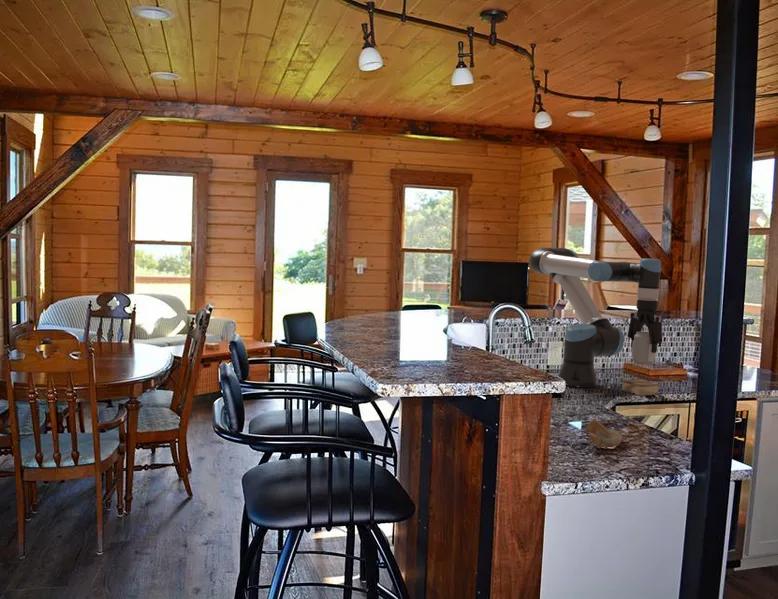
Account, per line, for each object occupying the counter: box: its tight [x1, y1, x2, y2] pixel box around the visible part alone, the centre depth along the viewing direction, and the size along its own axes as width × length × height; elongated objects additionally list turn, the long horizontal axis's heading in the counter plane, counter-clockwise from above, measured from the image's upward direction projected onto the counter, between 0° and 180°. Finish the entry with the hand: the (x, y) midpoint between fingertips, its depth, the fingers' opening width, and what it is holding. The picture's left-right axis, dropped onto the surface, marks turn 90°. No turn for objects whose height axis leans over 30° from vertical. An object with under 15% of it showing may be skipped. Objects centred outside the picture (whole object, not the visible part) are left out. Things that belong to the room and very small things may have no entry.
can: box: [632, 330, 654, 366], centre depth 268 cm, size 8×8×12 cm
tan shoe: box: [585, 417, 624, 449], centre depth 196 cm, size 9×21×10 cm, turn 144°
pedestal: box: [622, 378, 659, 397], centre depth 270 cm, size 9×9×4 cm
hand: (642, 358), depth 269 cm, fingers closed on can, 7 cm apart
